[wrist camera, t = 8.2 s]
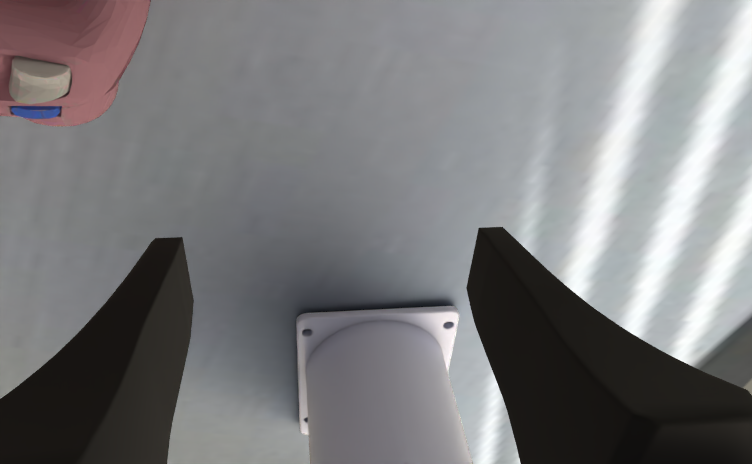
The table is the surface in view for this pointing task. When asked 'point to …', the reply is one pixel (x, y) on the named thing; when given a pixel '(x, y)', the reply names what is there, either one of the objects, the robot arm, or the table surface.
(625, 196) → the table surface
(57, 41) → the video game controller
